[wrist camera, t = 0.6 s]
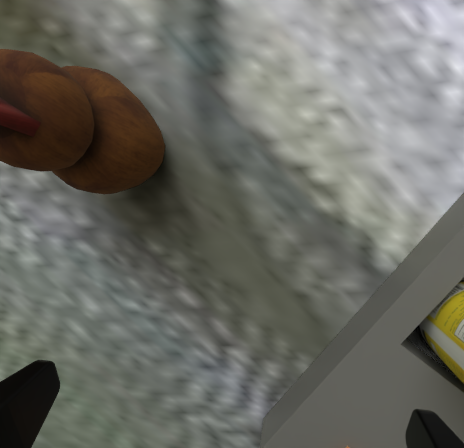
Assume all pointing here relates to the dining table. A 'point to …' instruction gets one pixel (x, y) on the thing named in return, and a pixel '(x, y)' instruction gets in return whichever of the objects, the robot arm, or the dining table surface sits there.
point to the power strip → (380, 360)
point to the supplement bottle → (447, 330)
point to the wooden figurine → (75, 125)
